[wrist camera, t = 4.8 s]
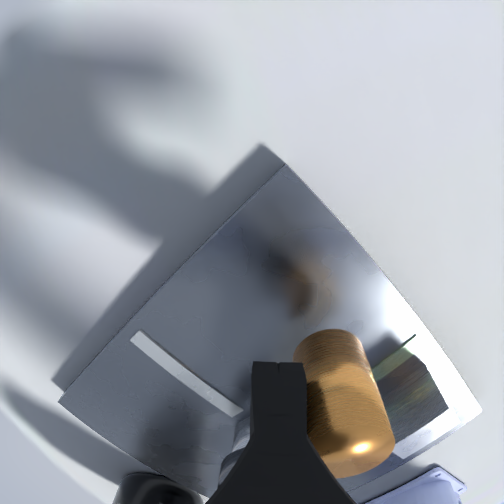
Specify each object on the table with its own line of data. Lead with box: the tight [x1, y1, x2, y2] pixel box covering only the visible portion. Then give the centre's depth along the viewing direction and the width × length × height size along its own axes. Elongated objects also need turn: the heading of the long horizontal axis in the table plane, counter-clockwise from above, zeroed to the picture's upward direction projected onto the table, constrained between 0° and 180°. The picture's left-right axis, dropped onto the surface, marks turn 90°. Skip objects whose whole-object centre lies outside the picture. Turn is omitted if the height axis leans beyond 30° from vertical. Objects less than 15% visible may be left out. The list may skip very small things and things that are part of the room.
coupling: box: [217, 329, 395, 488], centre depth 10 cm, size 11×5×4 cm, turn 167°
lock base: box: [58, 164, 482, 498], centre depth 13 cm, size 18×18×4 cm
